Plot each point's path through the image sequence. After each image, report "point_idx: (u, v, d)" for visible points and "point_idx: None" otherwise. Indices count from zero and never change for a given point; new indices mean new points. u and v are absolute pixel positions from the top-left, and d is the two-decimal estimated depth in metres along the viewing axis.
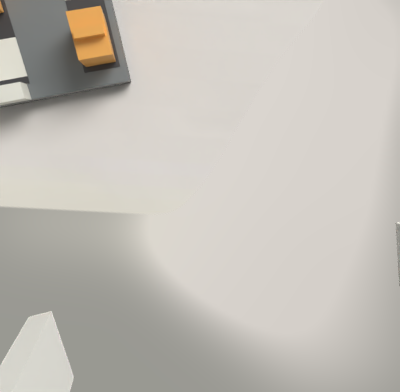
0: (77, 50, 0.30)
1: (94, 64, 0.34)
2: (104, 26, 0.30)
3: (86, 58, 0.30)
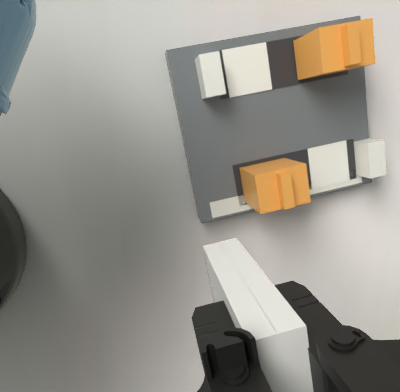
0: (364, 63, 0.24)
1: None
2: (340, 25, 0.23)
3: (373, 53, 0.24)
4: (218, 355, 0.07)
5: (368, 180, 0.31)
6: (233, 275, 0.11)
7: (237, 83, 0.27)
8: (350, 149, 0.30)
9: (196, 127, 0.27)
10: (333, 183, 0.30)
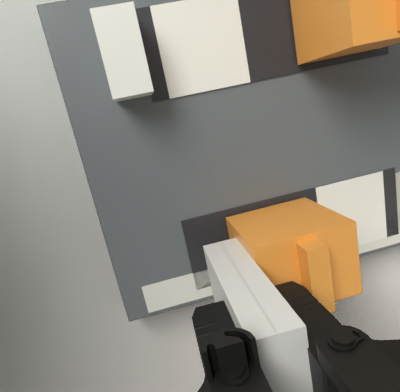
0: None
1: None
2: None
3: None
4: (218, 355, 0.07)
5: None
6: (233, 275, 0.11)
7: (184, 71, 0.14)
8: (389, 186, 0.17)
9: (109, 155, 0.15)
10: (359, 243, 0.18)
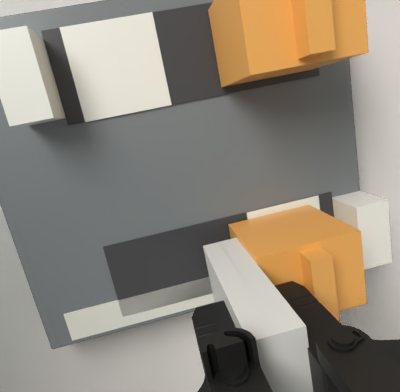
0: (345, 52, 0.11)
1: None
2: None
3: (363, 30, 0.11)
4: (218, 355, 0.07)
5: None
6: (233, 275, 0.11)
7: (100, 94, 0.14)
8: (326, 211, 0.17)
9: (23, 179, 0.14)
10: None
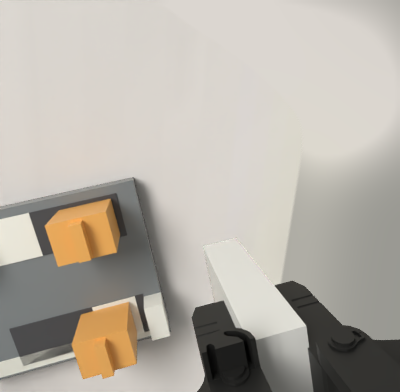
0: (104, 253, 0.23)
1: (116, 225, 0.27)
2: (70, 221, 0.23)
3: (113, 243, 0.23)
4: (218, 355, 0.07)
5: None
6: (233, 275, 0.11)
7: (2, 253, 0.26)
8: (141, 304, 0.29)
9: None
10: None
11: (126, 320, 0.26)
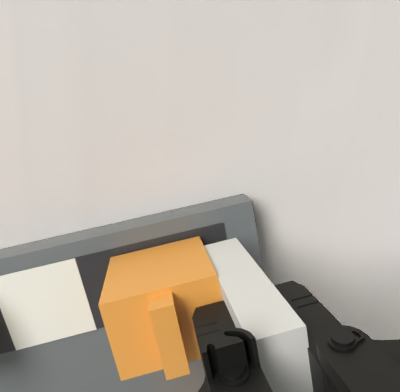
0: None
1: None
2: (149, 294, 0.11)
3: None
4: (218, 355, 0.07)
5: None
6: (233, 275, 0.11)
7: (29, 327, 0.15)
8: None
9: None
10: None
11: None
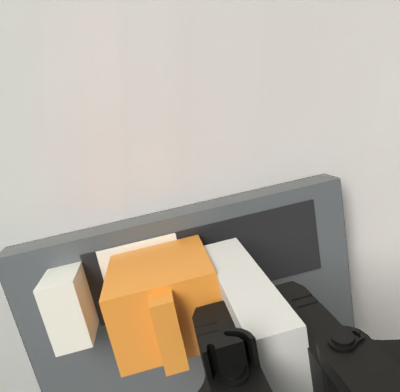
0: None
1: None
2: (149, 291, 0.11)
3: None
4: (218, 355, 0.07)
5: None
6: (233, 275, 0.11)
7: None
8: None
9: (61, 370, 0.16)
10: None
11: None
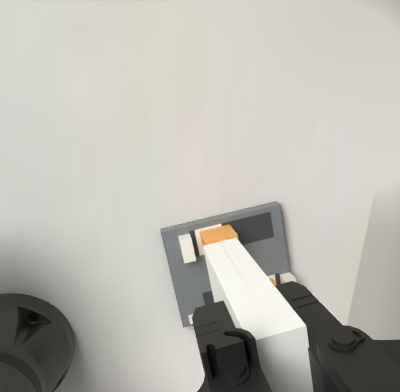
0: None
1: None
2: (218, 239, 0.40)
3: None
4: (218, 355, 0.07)
5: None
6: (233, 275, 0.11)
7: None
8: (277, 279, 0.47)
9: (179, 273, 0.45)
10: None
11: None
